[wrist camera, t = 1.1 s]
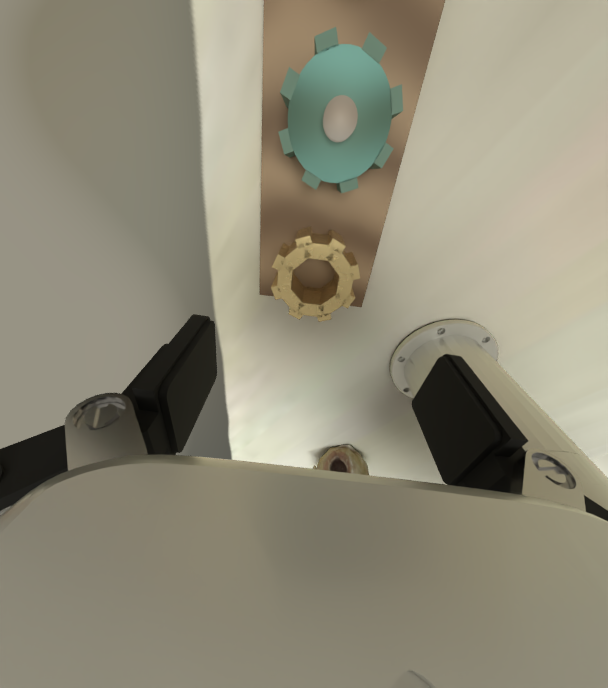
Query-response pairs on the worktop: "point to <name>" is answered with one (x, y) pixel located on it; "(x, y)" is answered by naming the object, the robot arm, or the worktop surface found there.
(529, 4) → the worktop surface
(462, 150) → the worktop surface
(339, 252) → the brass gear
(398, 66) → the gear board
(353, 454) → the tan rounded piece
